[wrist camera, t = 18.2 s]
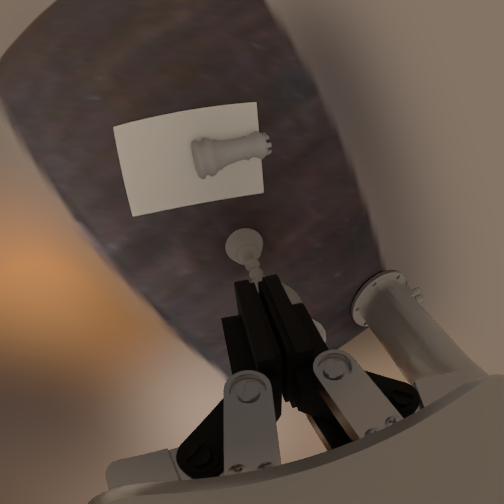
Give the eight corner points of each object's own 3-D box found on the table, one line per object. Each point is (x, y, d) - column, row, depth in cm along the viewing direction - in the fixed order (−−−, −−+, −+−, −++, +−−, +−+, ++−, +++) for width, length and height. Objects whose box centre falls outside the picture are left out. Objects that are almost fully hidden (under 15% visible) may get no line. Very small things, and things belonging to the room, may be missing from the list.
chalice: (208, 235, 35) (230, 342, 20) (257, 211, 35) (315, 302, 20) (232, 277, 39) (265, 385, 24) (277, 255, 39) (333, 353, 23)
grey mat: (255, 102, 28) (256, 102, 28) (262, 191, 34) (263, 192, 33) (114, 126, 26) (113, 126, 25) (133, 215, 31) (132, 216, 31)
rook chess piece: (193, 161, 30) (258, 145, 32) (202, 189, 29) (273, 171, 30) (187, 132, 26) (260, 116, 28) (197, 159, 25) (277, 140, 26)
